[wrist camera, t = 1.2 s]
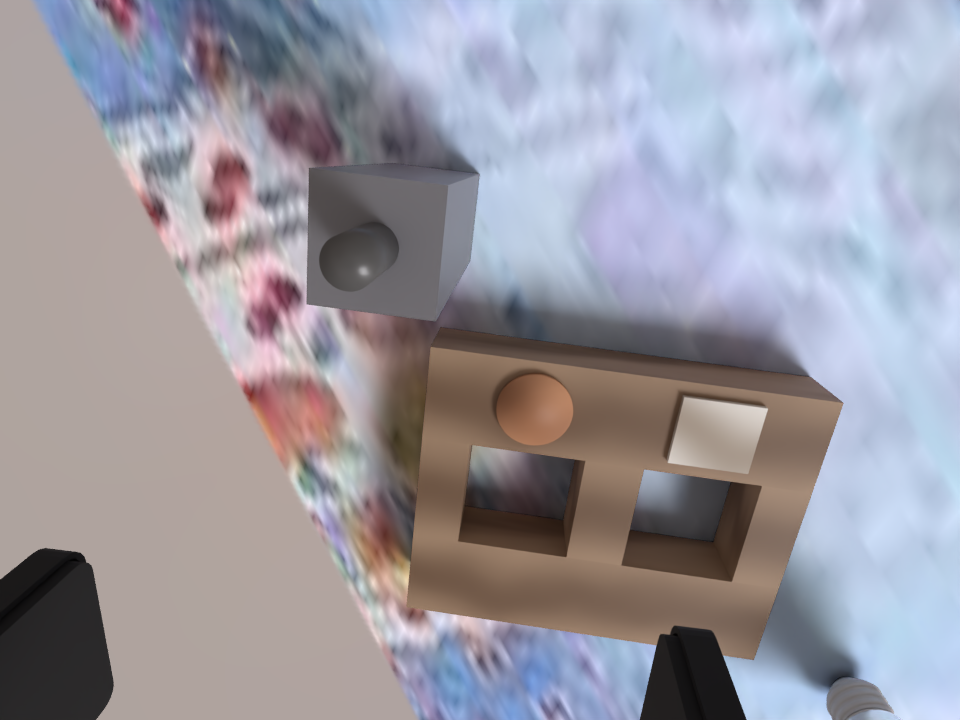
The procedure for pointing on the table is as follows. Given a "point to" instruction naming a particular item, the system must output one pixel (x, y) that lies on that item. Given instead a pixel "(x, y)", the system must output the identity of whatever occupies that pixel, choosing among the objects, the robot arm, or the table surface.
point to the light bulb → (857, 701)
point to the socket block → (613, 488)
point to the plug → (388, 237)
